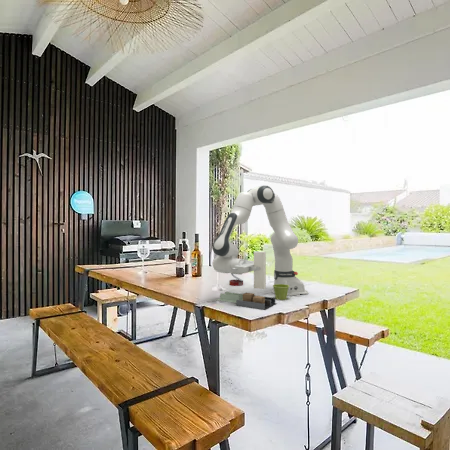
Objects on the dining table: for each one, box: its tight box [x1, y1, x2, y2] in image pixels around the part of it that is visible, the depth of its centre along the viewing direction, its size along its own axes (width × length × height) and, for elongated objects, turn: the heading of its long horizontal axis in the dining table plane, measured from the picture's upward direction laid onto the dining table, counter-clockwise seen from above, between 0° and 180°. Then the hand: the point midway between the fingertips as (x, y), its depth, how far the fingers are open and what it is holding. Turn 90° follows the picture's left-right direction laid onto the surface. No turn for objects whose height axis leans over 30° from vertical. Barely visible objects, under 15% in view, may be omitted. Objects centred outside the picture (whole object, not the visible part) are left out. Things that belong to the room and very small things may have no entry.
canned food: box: [229, 273, 244, 287], centre depth 250 cm, size 11×10×10 cm
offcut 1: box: [242, 292, 255, 302], centre depth 188 cm, size 4×5×6 cm
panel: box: [253, 250, 267, 290], centre depth 192 cm, size 2×6×20 cm, turn 60°
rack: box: [233, 294, 278, 311], centre depth 189 cm, size 16×18×4 cm
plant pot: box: [272, 284, 289, 301], centre depth 203 cm, size 9×9×9 cm
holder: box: [215, 291, 244, 304], centre depth 201 cm, size 12×14×4 cm
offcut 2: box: [253, 295, 266, 303], centre depth 185 cm, size 4×5×5 cm
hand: (261, 268), depth 192 cm, fingers closed on panel, 2 cm apart
